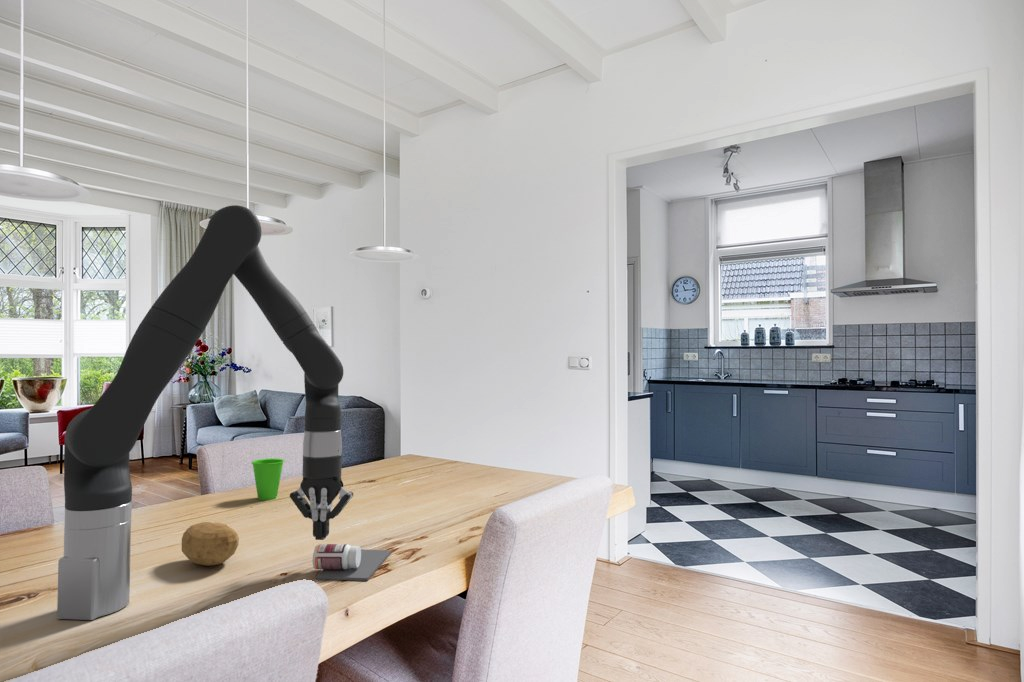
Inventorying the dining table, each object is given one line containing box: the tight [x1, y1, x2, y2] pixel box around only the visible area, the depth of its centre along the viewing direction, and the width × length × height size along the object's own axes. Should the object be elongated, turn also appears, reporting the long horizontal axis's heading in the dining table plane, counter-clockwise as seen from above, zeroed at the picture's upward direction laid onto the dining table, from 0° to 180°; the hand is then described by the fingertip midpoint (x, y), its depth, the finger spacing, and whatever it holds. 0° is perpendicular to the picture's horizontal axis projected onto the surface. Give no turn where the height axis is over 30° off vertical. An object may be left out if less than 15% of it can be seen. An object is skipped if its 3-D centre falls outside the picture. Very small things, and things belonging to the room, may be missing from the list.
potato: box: [181, 521, 240, 567], centre depth 120 cm, size 10×14×8 cm
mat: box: [315, 548, 392, 582], centre depth 120 cm, size 16×10×1 cm, turn 176°
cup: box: [251, 457, 285, 501], centre depth 175 cm, size 9×9×11 cm
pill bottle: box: [311, 543, 362, 571], centre depth 116 cm, size 5×5×8 cm
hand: (321, 538), depth 119 cm, fingers closed
